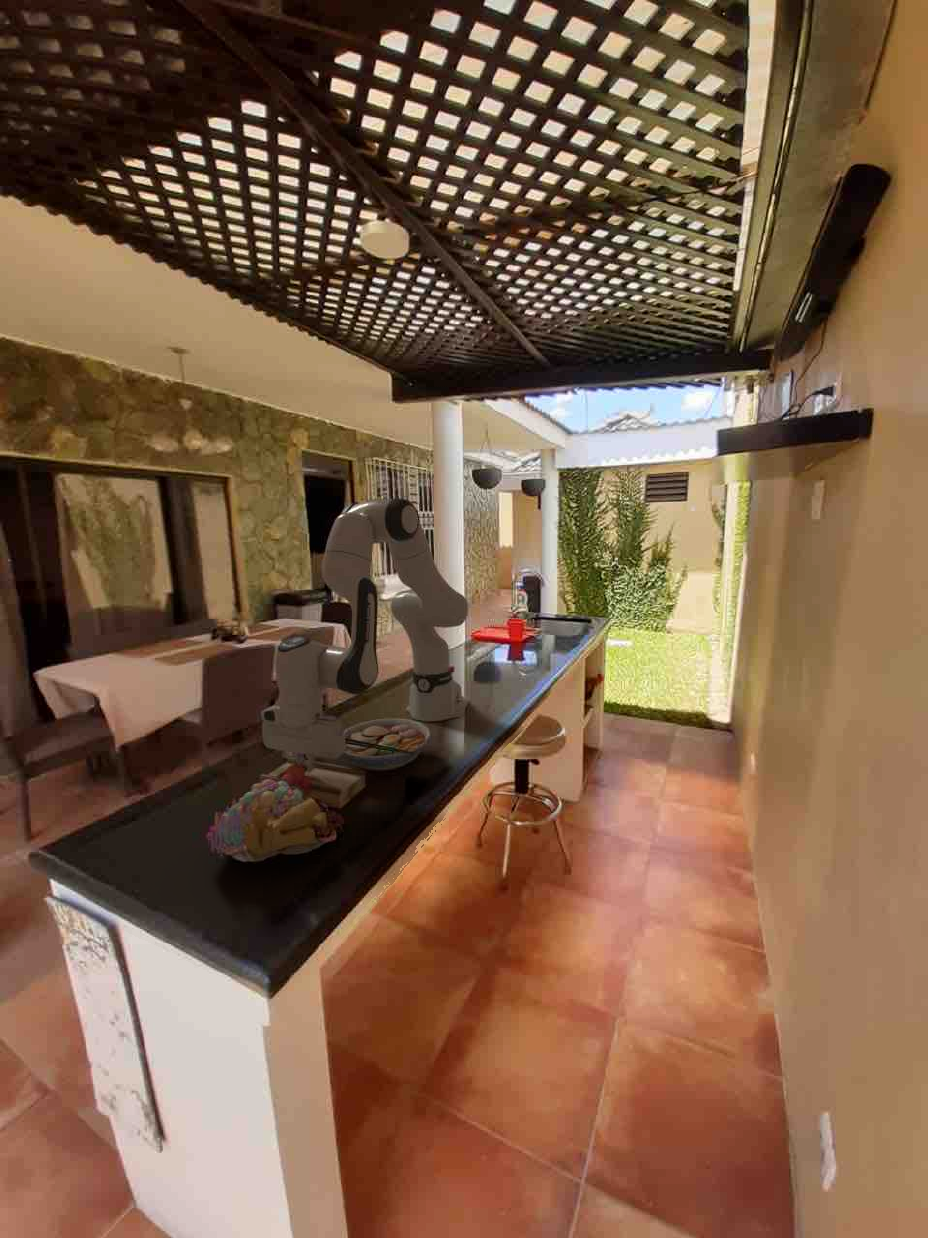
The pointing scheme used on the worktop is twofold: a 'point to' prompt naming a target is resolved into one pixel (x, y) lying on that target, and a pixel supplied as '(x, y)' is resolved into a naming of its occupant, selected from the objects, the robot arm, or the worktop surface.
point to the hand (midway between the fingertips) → (306, 770)
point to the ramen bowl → (385, 743)
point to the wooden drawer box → (326, 782)
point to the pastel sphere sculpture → (274, 821)
